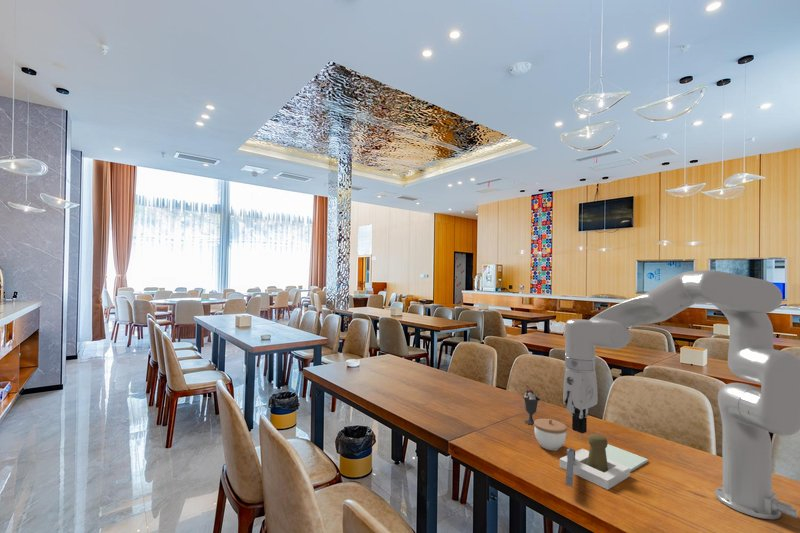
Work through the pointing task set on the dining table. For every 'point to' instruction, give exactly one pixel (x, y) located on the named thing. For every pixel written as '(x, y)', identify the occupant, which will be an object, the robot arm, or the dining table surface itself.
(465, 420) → the dining table surface
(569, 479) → the retention bar
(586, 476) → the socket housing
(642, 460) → the sage mat
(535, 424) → the lidded jar
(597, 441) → the olive tapered cylinder
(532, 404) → the sundae
